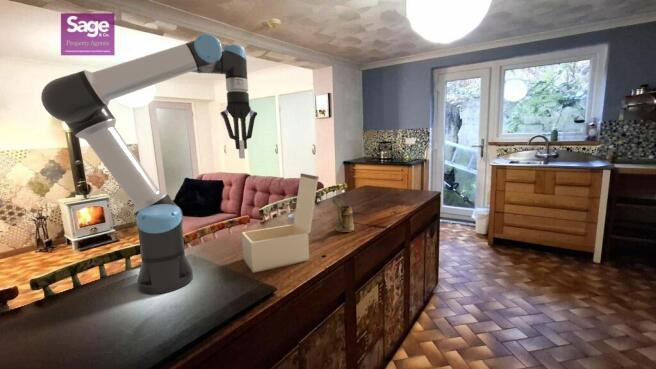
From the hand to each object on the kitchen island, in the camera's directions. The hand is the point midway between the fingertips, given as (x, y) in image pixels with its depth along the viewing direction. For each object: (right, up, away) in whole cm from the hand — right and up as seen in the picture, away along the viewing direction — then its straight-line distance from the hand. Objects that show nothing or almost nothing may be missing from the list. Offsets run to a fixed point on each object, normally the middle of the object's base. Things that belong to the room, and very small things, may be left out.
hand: (242, 158), depth 113 cm
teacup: (+19, -32, +35) cm, 51 cm away
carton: (+13, -37, -2) cm, 39 cm away
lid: (+23, -16, 0) cm, 28 cm away
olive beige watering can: (+39, -32, +30) cm, 58 cm away
